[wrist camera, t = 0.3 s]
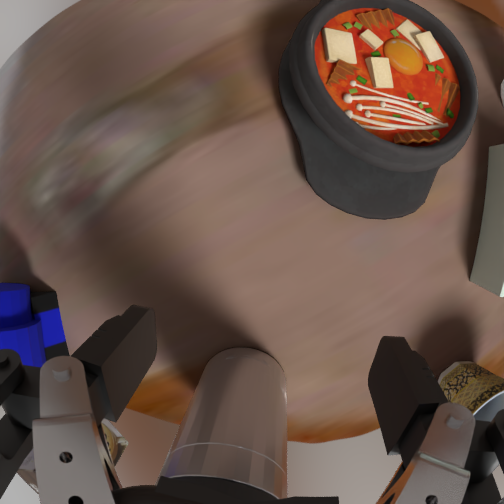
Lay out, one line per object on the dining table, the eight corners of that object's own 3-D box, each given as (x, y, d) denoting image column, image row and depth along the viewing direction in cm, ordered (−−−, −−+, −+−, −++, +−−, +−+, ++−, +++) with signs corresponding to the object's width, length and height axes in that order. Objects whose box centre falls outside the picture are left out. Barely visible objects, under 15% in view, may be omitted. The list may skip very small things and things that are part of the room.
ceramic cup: (411, 383, 30) (443, 435, 20) (473, 332, 28) (519, 370, 19) (439, 432, 31) (464, 477, 22) (492, 389, 30) (526, 427, 20)
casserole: (440, 232, 27) (487, 244, 19) (263, 202, 28) (257, 204, 20) (442, 27, 22) (475, -4, 14) (289, -12, 23) (290, -59, 15)
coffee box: (68, 404, 35) (10, 467, 19) (92, 397, 34) (31, 470, 19) (104, 447, 36) (59, 514, 21) (130, 443, 35) (86, 520, 20)
